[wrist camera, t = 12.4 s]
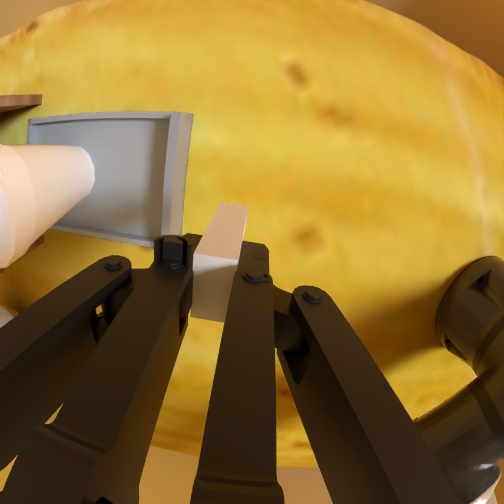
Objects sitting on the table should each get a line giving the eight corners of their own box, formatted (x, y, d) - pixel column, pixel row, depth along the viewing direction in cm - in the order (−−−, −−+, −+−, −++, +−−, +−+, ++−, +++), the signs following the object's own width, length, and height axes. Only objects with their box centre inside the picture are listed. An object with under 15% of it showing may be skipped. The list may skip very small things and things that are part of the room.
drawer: (193, 114, 23) (180, 111, 19) (180, 243, 28) (168, 260, 25) (39, 118, 23) (16, 121, 19) (40, 220, 28) (21, 231, 24)
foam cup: (35, 157, 24) (-49, 186, 12) (87, 114, 22) (-11, 123, 10) (64, 227, 27) (-12, 281, 15) (119, 195, 25) (33, 248, 14)
